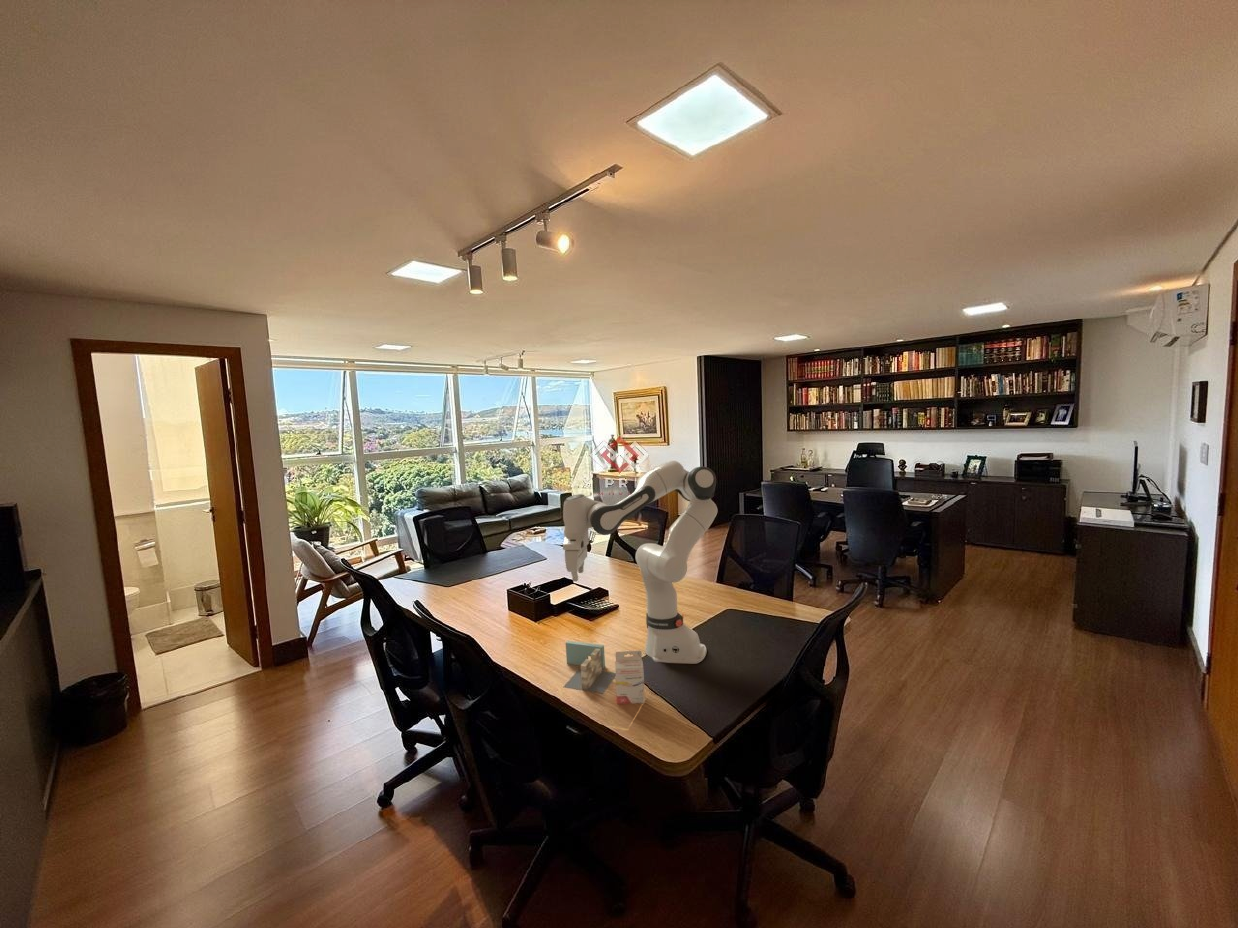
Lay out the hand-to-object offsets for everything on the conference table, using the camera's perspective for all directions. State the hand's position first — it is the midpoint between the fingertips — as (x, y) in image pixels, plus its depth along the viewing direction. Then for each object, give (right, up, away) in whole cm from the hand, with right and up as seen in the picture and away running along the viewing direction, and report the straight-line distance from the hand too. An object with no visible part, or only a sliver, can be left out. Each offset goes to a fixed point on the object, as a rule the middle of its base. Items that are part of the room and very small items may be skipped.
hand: (578, 576), depth 181 cm
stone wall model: (+6, -30, -18) cm, 36 cm away
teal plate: (+3, -30, -7) cm, 31 cm away
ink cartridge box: (+19, -31, -30) cm, 47 cm away
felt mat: (+6, -31, -17) cm, 36 cm away
